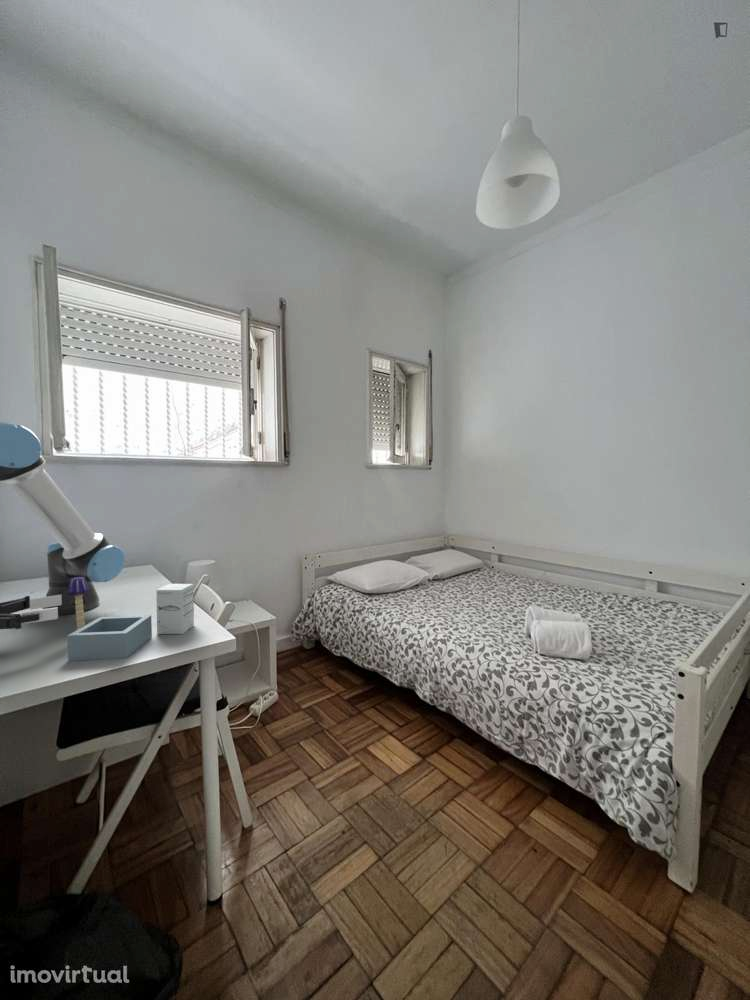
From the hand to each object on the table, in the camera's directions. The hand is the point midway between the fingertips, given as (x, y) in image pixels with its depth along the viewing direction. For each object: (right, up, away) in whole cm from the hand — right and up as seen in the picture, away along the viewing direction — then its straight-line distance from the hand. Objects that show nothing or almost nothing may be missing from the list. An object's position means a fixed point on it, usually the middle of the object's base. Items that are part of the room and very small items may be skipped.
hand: (59, 606), depth 101 cm
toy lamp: (+3, -10, +3) cm, 11 cm away
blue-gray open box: (+16, -10, -3) cm, 19 cm away
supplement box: (+25, -10, +10) cm, 29 cm away
